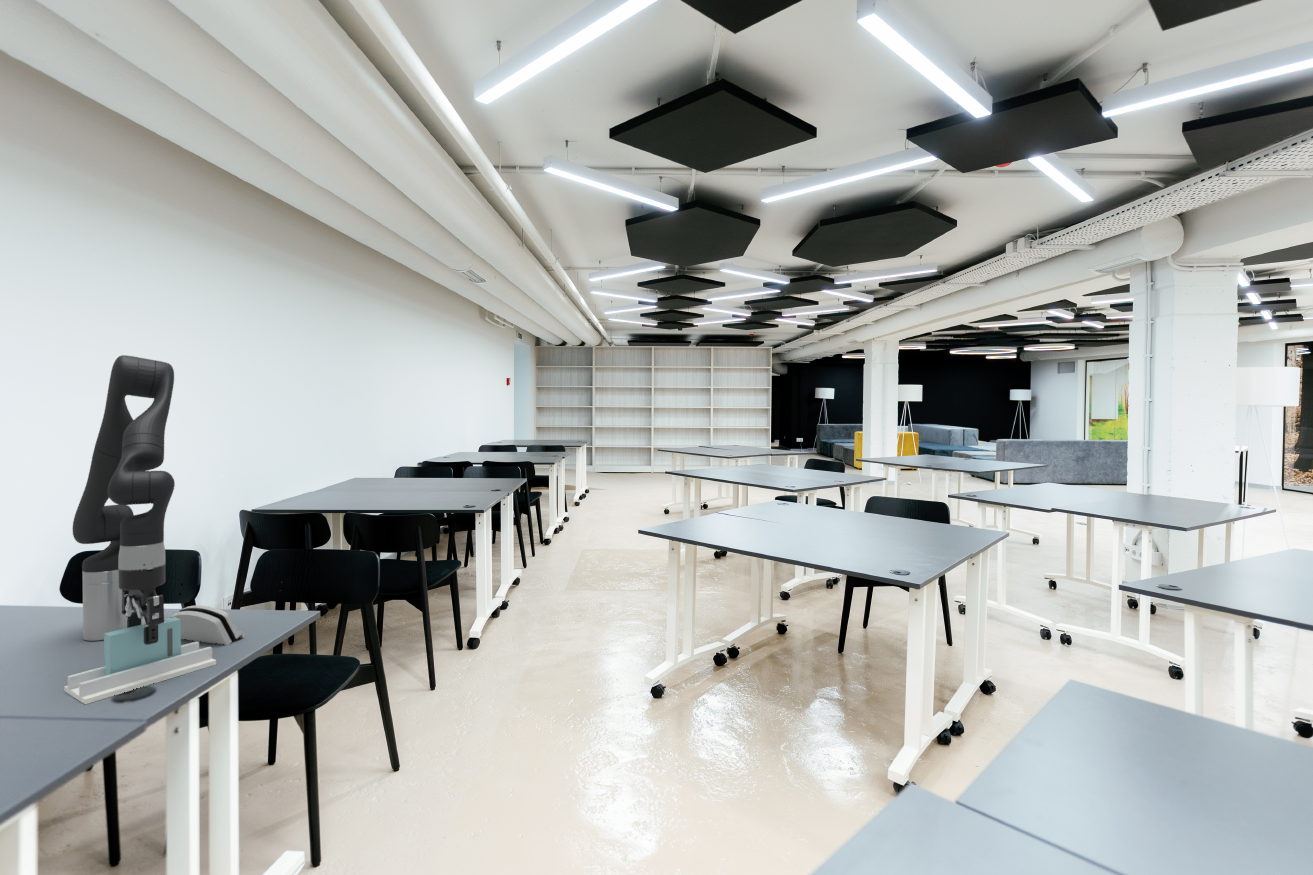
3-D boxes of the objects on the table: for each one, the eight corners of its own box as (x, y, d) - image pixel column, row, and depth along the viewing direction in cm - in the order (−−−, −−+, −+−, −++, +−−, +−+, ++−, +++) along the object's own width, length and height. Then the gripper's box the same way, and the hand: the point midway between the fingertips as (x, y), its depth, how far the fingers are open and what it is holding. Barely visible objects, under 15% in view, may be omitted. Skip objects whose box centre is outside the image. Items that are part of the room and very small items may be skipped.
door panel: (104, 681, 120) (104, 633, 120) (174, 661, 131) (174, 616, 131) (110, 684, 119) (110, 636, 119) (181, 663, 129) (181, 619, 129)
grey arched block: (246, 637, 148) (233, 604, 145) (229, 650, 144) (216, 617, 140) (195, 631, 152) (181, 599, 149) (177, 643, 148) (163, 611, 144)
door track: (64, 691, 118) (64, 674, 118) (193, 654, 137) (193, 639, 137) (85, 704, 112) (85, 686, 112) (216, 664, 132) (216, 649, 132)
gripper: (106, 563, 124) (106, 638, 125) (133, 572, 117) (134, 652, 118) (150, 556, 131) (150, 627, 131) (178, 565, 124) (178, 640, 124)
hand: (142, 639), depth 125 cm, fingers open, 8 cm apart
